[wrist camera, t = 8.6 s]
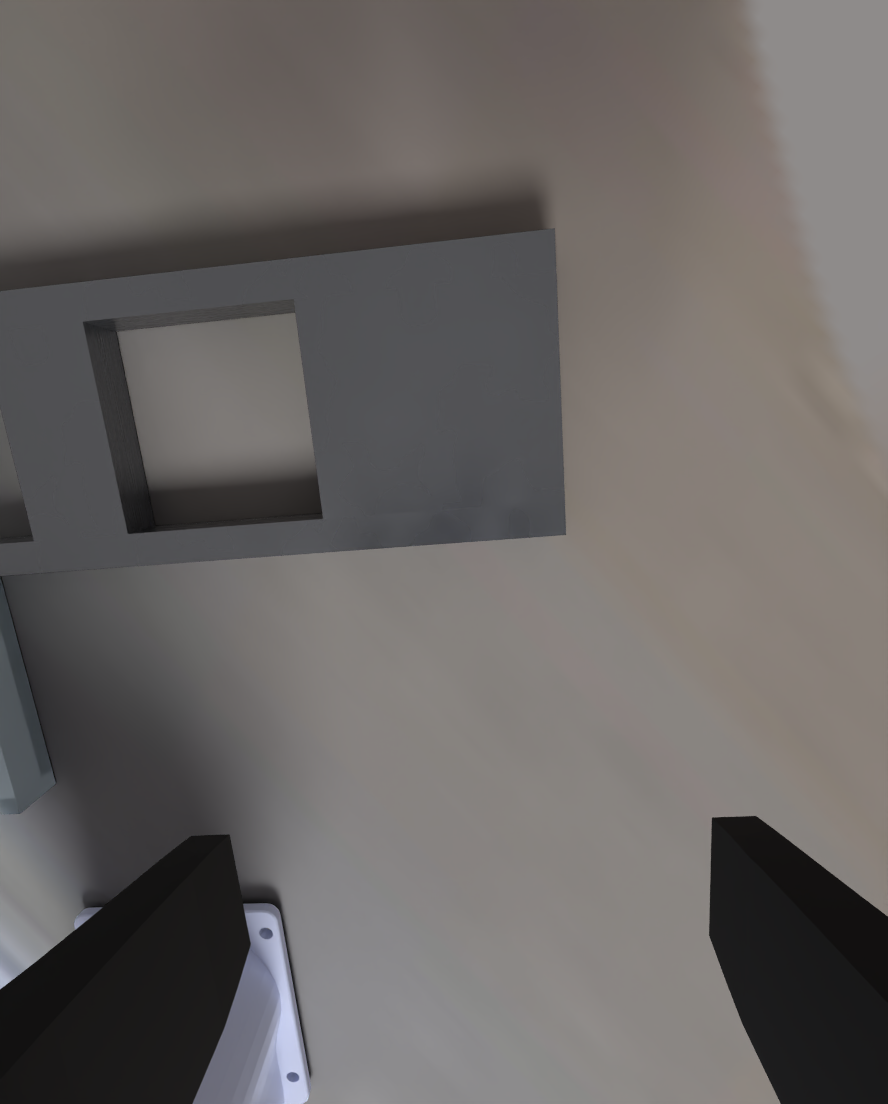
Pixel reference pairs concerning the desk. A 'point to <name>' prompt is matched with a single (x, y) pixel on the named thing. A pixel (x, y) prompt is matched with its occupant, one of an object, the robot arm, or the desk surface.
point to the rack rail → (332, 394)
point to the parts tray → (18, 727)
